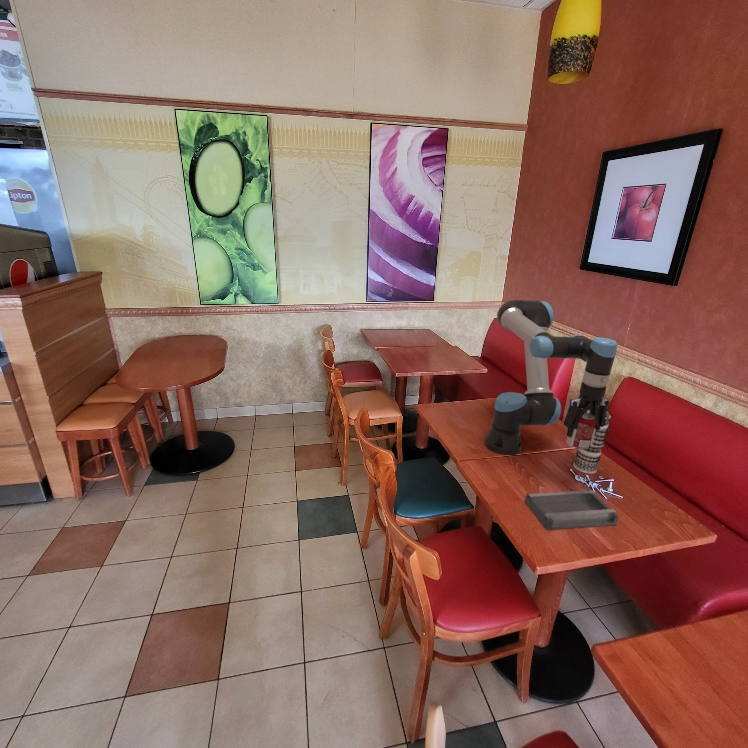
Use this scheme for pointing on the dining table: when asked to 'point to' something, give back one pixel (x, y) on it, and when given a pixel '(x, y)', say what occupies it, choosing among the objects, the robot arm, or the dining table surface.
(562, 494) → the tray
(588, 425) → the soda can
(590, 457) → the decorative candle
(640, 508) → the dining table surface
